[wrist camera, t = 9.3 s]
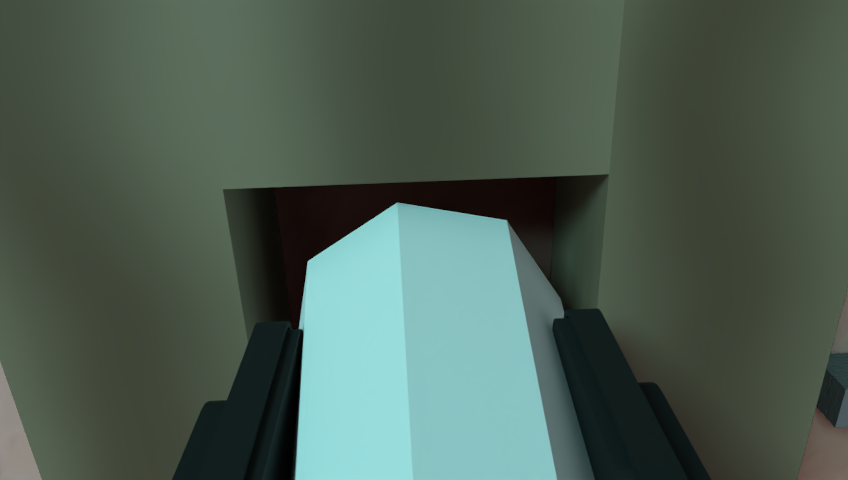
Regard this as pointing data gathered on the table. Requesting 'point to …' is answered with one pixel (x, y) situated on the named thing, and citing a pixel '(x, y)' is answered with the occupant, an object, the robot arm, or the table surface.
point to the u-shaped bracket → (835, 391)
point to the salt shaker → (432, 357)
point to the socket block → (416, 162)
